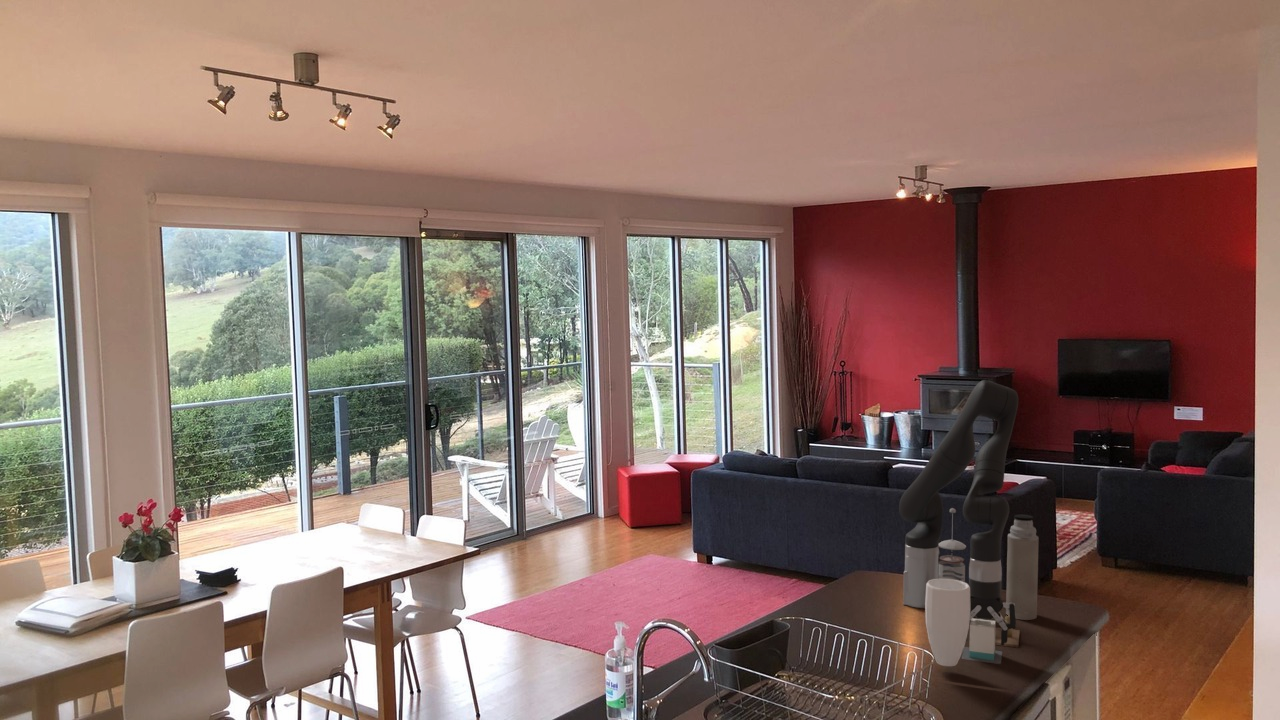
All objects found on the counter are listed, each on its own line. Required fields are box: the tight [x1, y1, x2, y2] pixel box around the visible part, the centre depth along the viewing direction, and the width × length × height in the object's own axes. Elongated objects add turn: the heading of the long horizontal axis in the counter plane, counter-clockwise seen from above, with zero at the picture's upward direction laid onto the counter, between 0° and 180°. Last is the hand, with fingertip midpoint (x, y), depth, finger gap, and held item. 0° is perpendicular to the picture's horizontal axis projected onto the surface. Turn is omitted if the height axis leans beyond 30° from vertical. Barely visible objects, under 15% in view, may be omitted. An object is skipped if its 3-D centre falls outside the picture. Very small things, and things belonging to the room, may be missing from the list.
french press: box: [938, 507, 967, 583], centre depth 296 cm, size 10×12×25 cm
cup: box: [924, 579, 971, 667], centre depth 229 cm, size 10×10×22 cm
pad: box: [960, 646, 1003, 665], centre depth 241 cm, size 9×9×1 cm
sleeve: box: [968, 617, 997, 661], centre depth 241 cm, size 6×6×8 cm
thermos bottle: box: [1005, 514, 1040, 621], centre depth 272 cm, size 8×8×28 cm
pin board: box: [979, 615, 1021, 648], centre depth 254 cm, size 11×12×6 cm
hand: (984, 642), depth 241 cm, fingers open, 8 cm apart
